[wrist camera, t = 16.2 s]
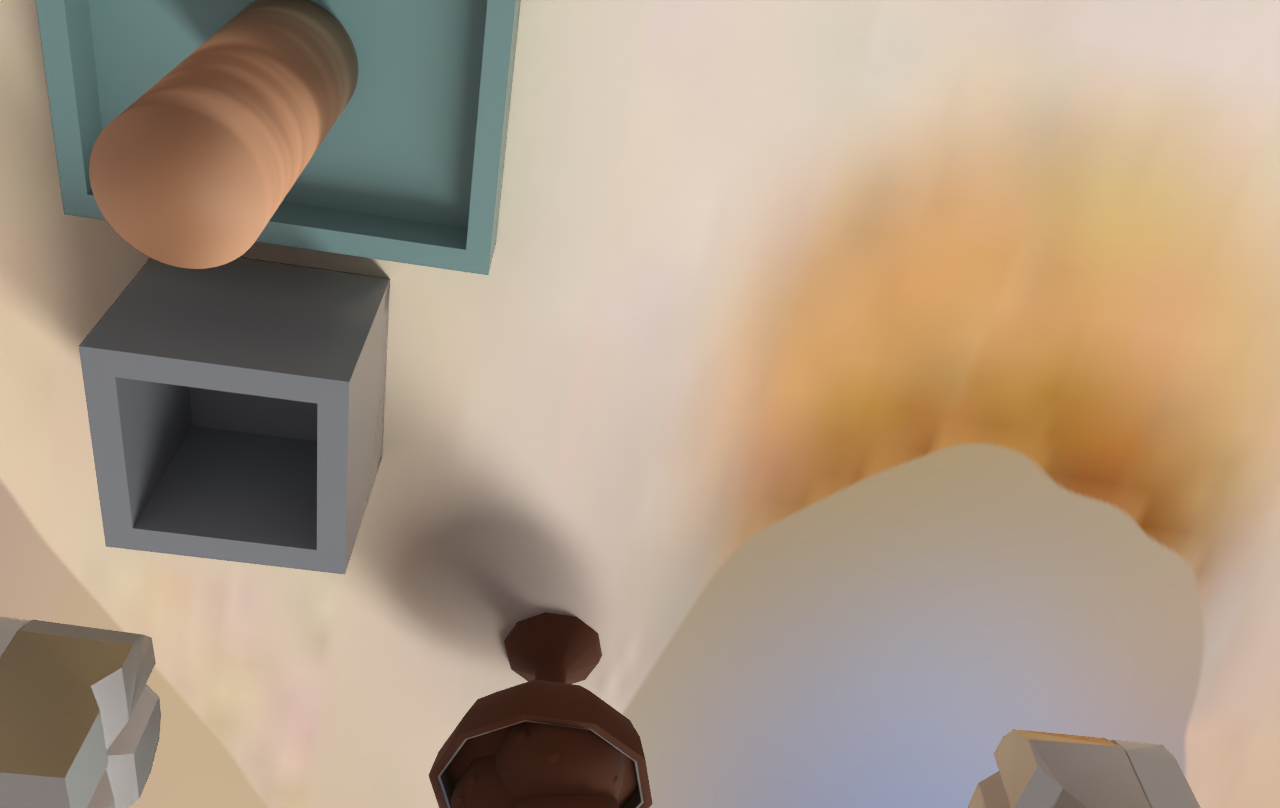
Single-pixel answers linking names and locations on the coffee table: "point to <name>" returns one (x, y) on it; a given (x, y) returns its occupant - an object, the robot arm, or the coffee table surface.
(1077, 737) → the robot arm
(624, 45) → the coffee table surface
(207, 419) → the grey open square box
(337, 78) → the peg
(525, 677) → the ice cream bowl
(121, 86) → the tray
